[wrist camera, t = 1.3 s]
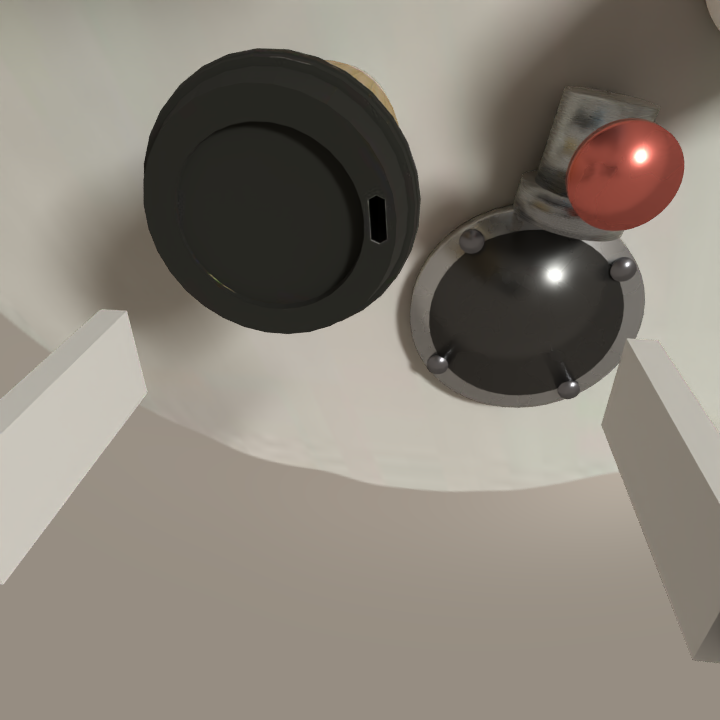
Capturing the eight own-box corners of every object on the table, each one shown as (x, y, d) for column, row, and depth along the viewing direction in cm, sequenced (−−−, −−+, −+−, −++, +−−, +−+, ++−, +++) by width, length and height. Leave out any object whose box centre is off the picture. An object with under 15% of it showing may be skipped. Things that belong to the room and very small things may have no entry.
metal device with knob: (463, 63, 29) (470, 90, 22) (732, 112, 29) (829, 155, 22) (394, 372, 40) (383, 456, 33) (586, 408, 40) (618, 501, 33)
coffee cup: (233, 30, 29) (78, 68, 16) (426, 13, 27) (414, 41, 15) (266, 216, 34) (168, 350, 22) (429, 210, 33) (421, 349, 20)
